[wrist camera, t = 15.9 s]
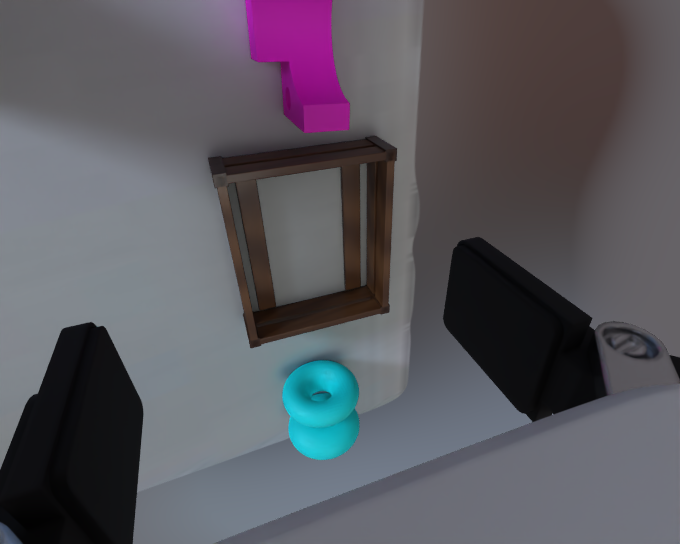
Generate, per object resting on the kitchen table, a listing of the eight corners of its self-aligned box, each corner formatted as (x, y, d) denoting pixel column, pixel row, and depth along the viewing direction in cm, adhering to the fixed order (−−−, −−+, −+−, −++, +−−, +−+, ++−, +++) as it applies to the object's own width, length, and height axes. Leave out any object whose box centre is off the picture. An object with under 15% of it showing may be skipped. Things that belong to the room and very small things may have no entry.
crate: (208, 157, 36) (211, 174, 32) (375, 135, 41) (397, 148, 37) (244, 321, 48) (250, 348, 44) (373, 290, 52) (389, 312, 48)
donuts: (282, 413, 59) (299, 475, 51) (274, 367, 53) (291, 428, 45) (345, 394, 61) (370, 449, 53) (343, 347, 56) (370, 402, 48)
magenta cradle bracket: (234, -107, 28) (250, -141, 22) (318, -99, 30) (354, -128, 24) (257, 116, 36) (272, 135, 30) (322, 112, 38) (349, 129, 32)
